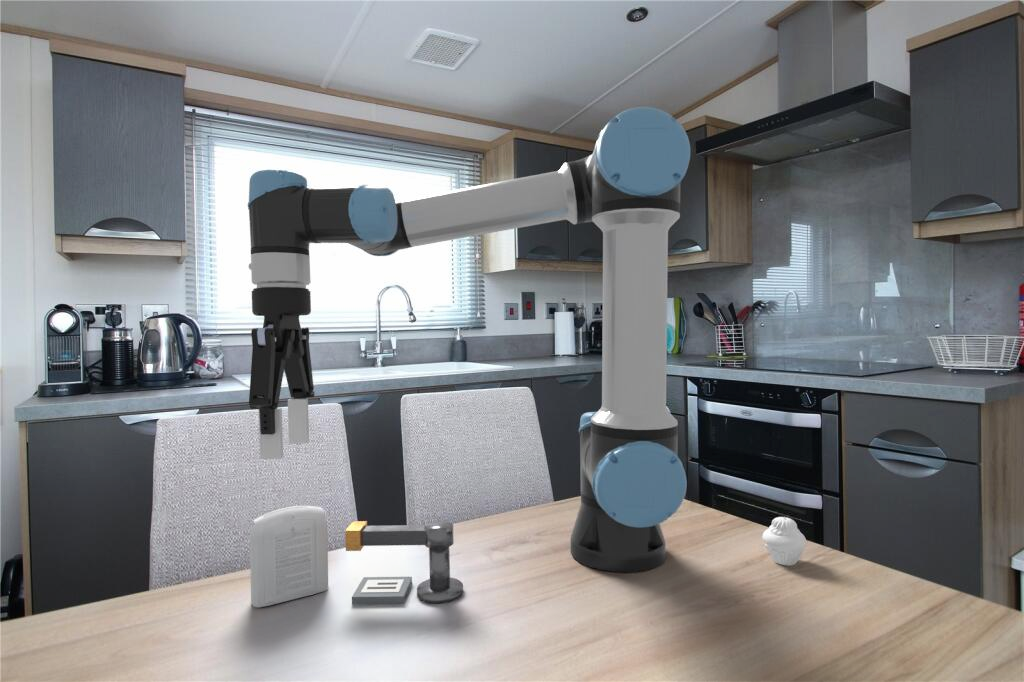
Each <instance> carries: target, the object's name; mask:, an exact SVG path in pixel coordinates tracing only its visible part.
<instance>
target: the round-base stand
mask: <svg viewBox="0 0 1024 682" xmlns="http://www.w3.org/2000/svg"><path fill="white" fill-rule="evenodd" d="M450 554H451V553H450V547H447V548H442V549H431V548H428V557H429V558H428V559H429V564H428V565H429V566H428V567H429V578H428V579H426V580H423V581H421V582H420V583H419V584H418V585H417V587H416V596H417V599H419V601H421V602H423V603H426V604H432V605H442V604H443V605H444V604H448V603H451V602H454V601H456V600H458V599H459V598H461V597H462V596H463V595H464V583H463V582H462V581H461V580H460V579H458V578H455V577H451V568H450V567H451V566H450V564H451V563H450V562H451V561H450Z"/></svg>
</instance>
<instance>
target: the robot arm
mask: <svg viewBox="0 0 1024 682" xmlns="http://www.w3.org/2000/svg"><path fill="white" fill-rule="evenodd" d="M690 159H691V145H690V139H689V136H688V134H687V132H686V130H685V128H684V127H683V126H682V124H681V123H680V122H679V121H677V120H676V118H675V117H673V116H672V114H670V113H668V112H666V111H665V110H662V109H659V108H656V107H650V106H638V107H633V108H632V107H631V108H629V109H626V110H623V111H621V112H620V113H618V114H617V115H615V116H614V117H612V118H611V120H610V121H608V122H607V124H606V125H605V126H604V127H603V128H602V129H601V131H600V132H599V134H598V136H597V138H596V142H595V145H594V150H593V152H592V153H591V154H589V155H588V156H586V157H583V158H581V159H577V160H573V161H568V162H564V163H563V164H562V165H561V167H560V169H559V170H556V171H550V172H546V173H545V172H544V173H539V174H535V175H528V176H523V177H518V178H513V179H507V180H502V181H497V182H491V183H487V184H486V183H485V184H480V185H475V186H470V187H466V188H459V189H453V190H447V191H442V192H437V193H432V194H426V195H421V196H416V197H410V198H405V199H402V200H396V199H395V196H394V193H393V191H392V190H391V189H390V188H388V187H386V186H375V185H373V186H372V185H368V184H362V185H356V186H354V185H353V186H325V187H324V186H323V187H322V186H320V187H315V186H314V187H311V186H309V185H308V180H307V177H306V176H304V175H303V174H302V173H299V172H296V171H293V170H289V169H288V170H287V169H285V170H284V169H282V170H281V169H278V168H277V169H275V168H274V169H273V168H268V169H260V170H257V171H256V172H254V173H252V174H251V176H250V177H249V184H248V186H249V187H248V202H247V209H248V217H249V219H248V221H249V235H250V237H249V238H250V263H249V264H248V269H249V270H251V271H250V272H251V275H250V276H251V283H252V284H253V285H255V286H256V288H253V289H252V290H251V309H252V310H251V313H252V314H253V315H254V316H258V317H263V325H262V328H259V327H258V328H252V329H251V332H250V333H251V344H252V349H251V350H252V353H251V367H250V381H249V395H248V404H249V408H250V410H258V429H259V430H258V431H259V456H260V457H259V458H260V460H268V459H269V460H273V459H274V460H278V459H283V458H284V440H283V438H284V437H283V435H284V434H283V408H282V407H279V401H280V396H281V391H282V383H283V377H284V374H285V378H286V381H287V385H288V387H287V388H288V391H289V395H290V398H289V399H287V421H288V422H287V424H288V444H289V445H291V444H293V445H294V444H299V445H301V444H303V445H304V444H309V443H310V434H309V433H310V430H309V429H310V427H309V426H310V424H309V423H310V422H309V420H310V419H309V398H314V397H315V391H314V390H315V387H314V378H313V369H312V359H311V352H310V351H311V350H310V328H309V327H303V326H301V323H300V322H301V321H300V319H299V318H300V316H309V315H310V314H311V312H312V308H311V307H312V305H311V304H312V303H311V299H312V298H311V290H310V289H308V288H307V286H309V285H310V284H311V263H310V262H311V259H310V244H349V245H351V246H353V247H356V248H358V249H360V250H361V251H363V252H364V253H366V254H368V255H372V256H375V257H387V256H391V255H393V254H395V253H397V252H398V251H399V250H405V249H410V248H414V247H419V246H425V245H430V244H436V243H441V242H447V241H453V240H459V239H464V238H465V239H466V238H469V237H474V236H480V235H486V234H492V233H497V232H504V231H508V230H515V229H520V228H524V227H525V228H527V227H531V226H537V225H542V224H548V223H553V222H559V221H565V220H566V221H569V222H570V223H571V224H572V225H578V224H584V223H585V224H586V223H591V222H592V223H594V225H596V227H598V229H600V230H601V232H602V331H601V333H602V334H601V335H602V338H601V339H602V343H601V345H602V347H601V348H602V350H601V352H602V355H601V356H602V357H601V367H602V368H601V372H602V373H601V374H602V375H601V407H600V409H598V411H588V412H585V413H583V414H581V416H580V420H579V421H580V422H579V428H578V434H579V446H580V447H579V451H580V452H579V453H580V454H579V455H580V456H579V457H580V458H579V460H580V461H579V462H580V463H579V464H580V465H579V466H580V471H579V473H580V507H579V509H578V513H577V516H576V519H575V522H574V526H573V528H572V532H571V534H570V554H571V556H572V557H573V559H575V560H576V561H577V562H579V563H580V564H583V565H585V566H587V567H590V568H594V569H597V570H602V571H607V572H615V573H632V572H633V573H636V572H643V571H648V570H651V569H653V568H656V567H659V566H660V565H662V564H663V562H664V561H665V560H666V557H667V547H666V545H667V544H666V540H665V536H664V533H663V530H662V528H661V524H662V523H664V522H665V521H667V520H668V519H669V518H670V517H672V515H674V514H675V513H676V512H677V511H678V510H679V508H680V507H681V506H682V503H683V502H684V500H685V496H686V493H687V487H688V485H687V484H688V482H687V476H686V475H687V474H686V472H685V468H684V465H683V462H682V461H681V459H680V458H679V456H678V445H679V444H678V437H679V436H678V433H679V430H678V429H679V428H678V426H679V425H678V422H679V420H678V419H676V417H674V416H673V414H672V413H670V411H669V410H668V409H667V367H668V366H667V365H668V364H667V357H668V356H667V353H668V351H667V350H668V348H667V347H668V345H667V344H668V335H667V334H668V274H669V273H668V268H669V267H668V265H669V264H668V263H669V262H668V257H669V256H668V255H669V254H668V253H669V249H668V248H669V247H668V246H669V230H670V229H671V227H672V226H673V225H674V224H675V223H676V222H677V221H678V220H679V219H680V218H681V182H682V180H683V179H684V178H685V176H686V173H687V170H688V168H689V165H690V164H689V163H690V161H691V160H690Z"/></svg>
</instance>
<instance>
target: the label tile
mask: <svg viewBox="0 0 1024 682" xmlns="http://www.w3.org/2000/svg"><path fill="white" fill-rule="evenodd" d="M412 585H413V577H412V576H364V577H362V579H361V581H360V583H359V584H358V585H357V588H356V589H355V591H354V593H353V594H352V596H351V605H394V604H395V605H397V604H398V605H400V604H401V605H402V604H405V601H406V600H407V597H408V595H409V592H410V590H411V586H412Z"/></svg>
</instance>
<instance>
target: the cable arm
mask: <svg viewBox="0 0 1024 682" xmlns="http://www.w3.org/2000/svg"><path fill="white" fill-rule="evenodd" d="M344 534H345V551H346V552H361V551H362V550H363V548H364V547H371V546H372V547H377V546H381V547H382V546H383V547H384V546H386V547H387V546H388V547H389V546H425V547H426V548H428V549H429V548H431V549H442V548H447V547H449V548H450V547H452V546H453V545H454V543H455V542H454V541H455V540H454V538H455V537H454V524H453V523H452V522H449V521H445V520H439V521H437V520H436V521H432V522H429V523H426V524H417V525H416V524H413V525H412V524H409V525H408V524H406V525H405V524H403V525H398V524H397V525H395V524H394V525H368V520H365V521H364V520H363V521H361V520H360V521H359V520H358V521H352V522H351V523H350V524H349V526H348V527H347V528H346V529H345V532H344Z"/></svg>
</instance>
